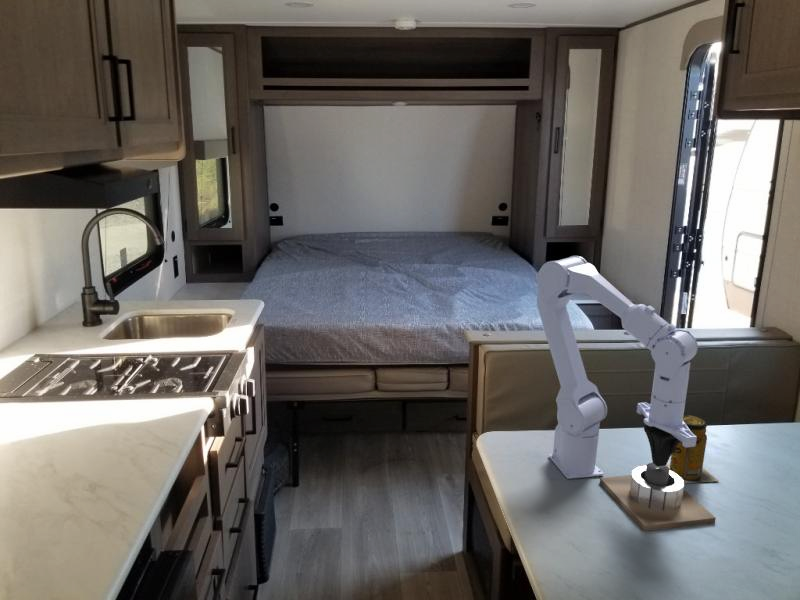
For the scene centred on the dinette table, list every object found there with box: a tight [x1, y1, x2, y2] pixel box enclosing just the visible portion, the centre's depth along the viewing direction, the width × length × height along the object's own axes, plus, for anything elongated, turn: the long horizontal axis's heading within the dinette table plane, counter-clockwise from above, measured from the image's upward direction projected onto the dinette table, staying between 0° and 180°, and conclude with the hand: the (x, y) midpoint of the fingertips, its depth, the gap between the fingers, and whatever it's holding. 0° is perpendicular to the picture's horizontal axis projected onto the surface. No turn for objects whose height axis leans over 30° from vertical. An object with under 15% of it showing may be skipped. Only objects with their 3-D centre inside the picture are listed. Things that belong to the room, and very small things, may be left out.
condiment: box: [665, 415, 720, 484], centre depth 129 cm, size 7×8×12 cm
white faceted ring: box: [630, 465, 685, 511], centre depth 120 cm, size 9×9×4 cm
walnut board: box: [599, 474, 717, 532], centre depth 120 cm, size 16×14×1 cm
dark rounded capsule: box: [645, 462, 669, 487], centre depth 120 cm, size 4×4×6 cm
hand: (659, 464), depth 118 cm, fingers closed
